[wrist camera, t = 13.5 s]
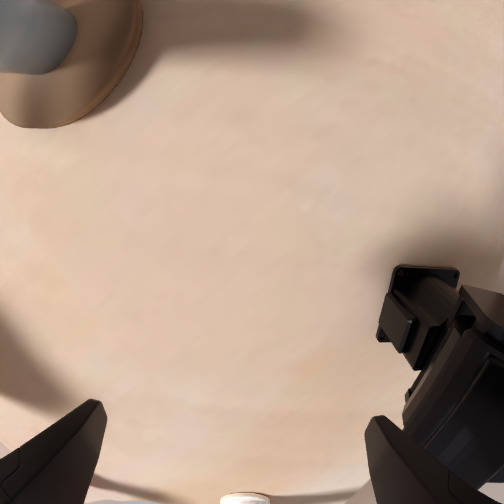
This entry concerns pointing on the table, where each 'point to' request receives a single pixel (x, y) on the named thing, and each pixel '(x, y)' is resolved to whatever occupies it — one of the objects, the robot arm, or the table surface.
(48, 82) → the trivet
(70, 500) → the robot arm
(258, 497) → the candle
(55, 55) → the jar
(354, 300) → the table surface
